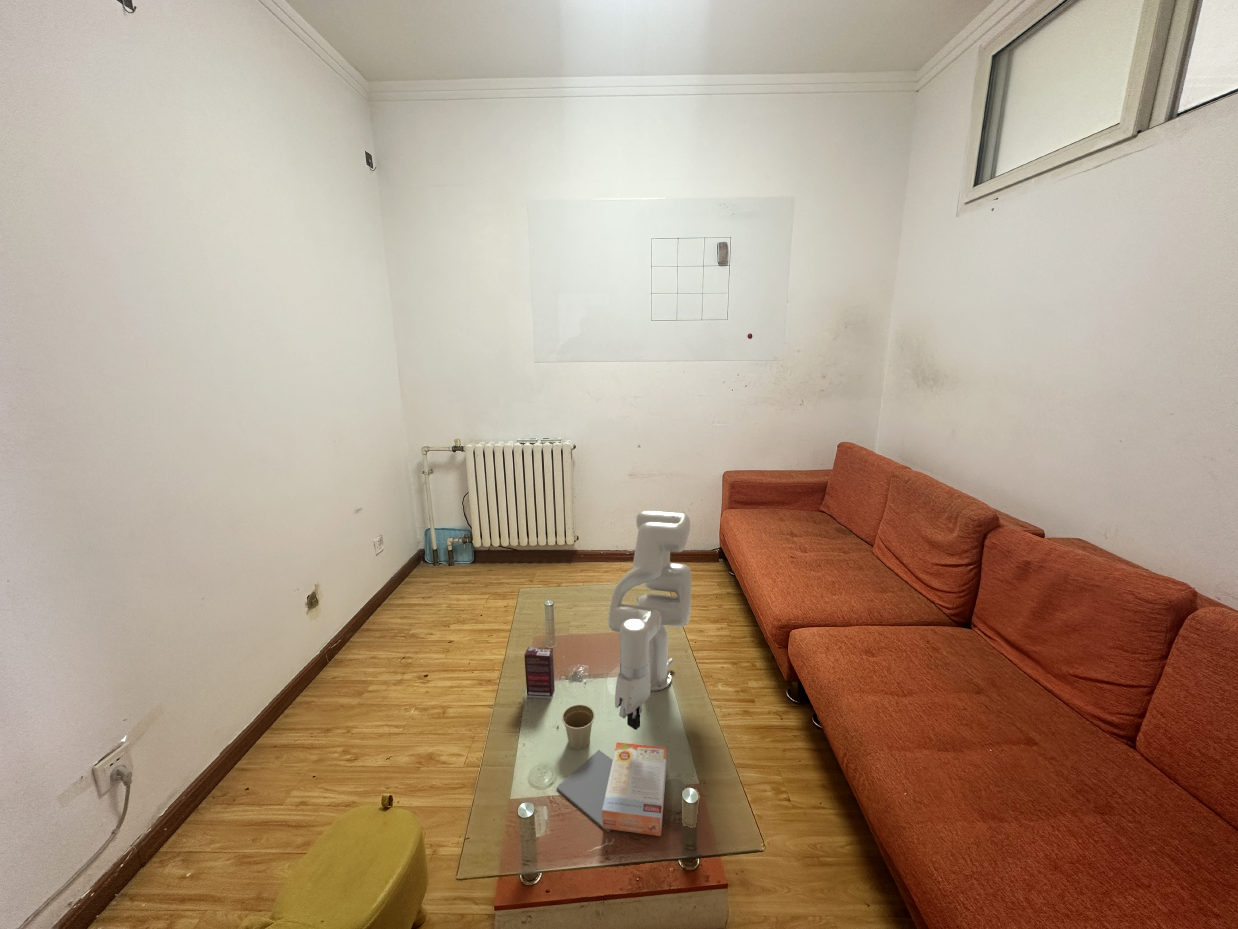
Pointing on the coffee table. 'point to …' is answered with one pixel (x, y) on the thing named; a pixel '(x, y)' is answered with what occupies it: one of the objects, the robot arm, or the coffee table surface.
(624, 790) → the cracker box
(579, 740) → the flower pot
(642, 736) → the coffee table surface
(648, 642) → the robot arm
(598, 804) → the mat
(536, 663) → the supplement box
